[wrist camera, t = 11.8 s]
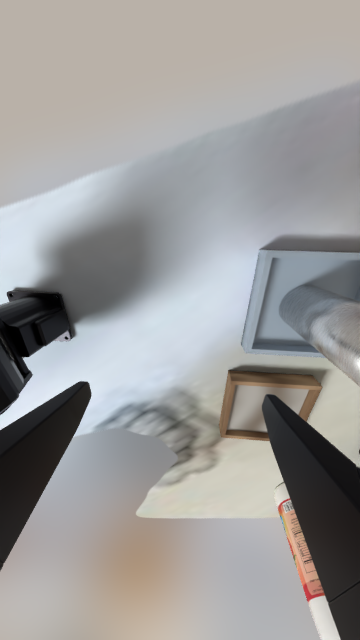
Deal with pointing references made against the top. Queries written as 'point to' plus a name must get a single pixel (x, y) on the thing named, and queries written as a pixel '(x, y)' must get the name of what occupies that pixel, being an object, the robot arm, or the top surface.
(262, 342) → the grey tray
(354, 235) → the top surface
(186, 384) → the top surface
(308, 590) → the fruit juice
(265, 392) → the walnut tray
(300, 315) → the scoop cup
